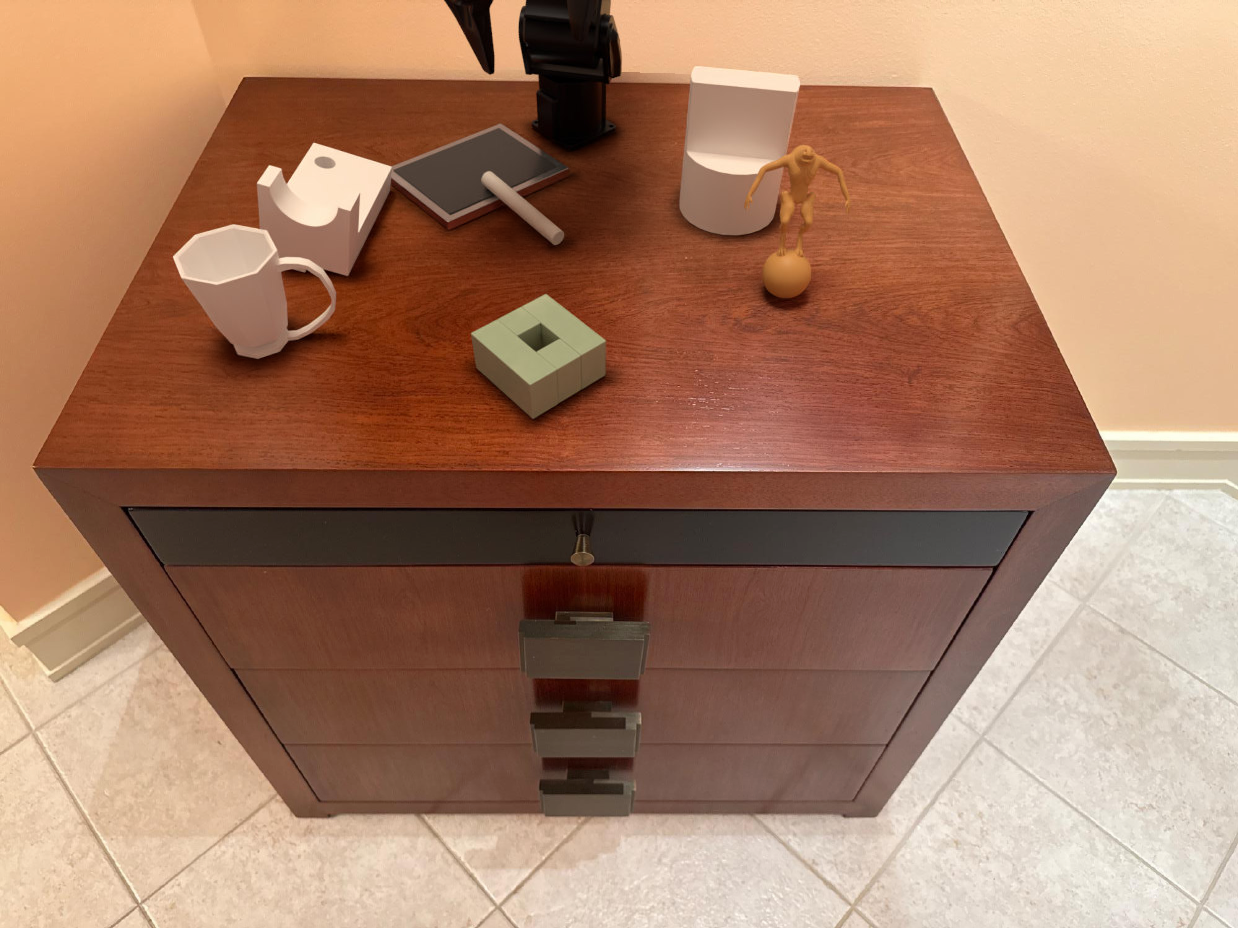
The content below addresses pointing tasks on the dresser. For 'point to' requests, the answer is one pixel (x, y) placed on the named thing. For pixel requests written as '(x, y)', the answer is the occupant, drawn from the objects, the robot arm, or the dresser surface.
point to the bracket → (323, 207)
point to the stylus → (522, 208)
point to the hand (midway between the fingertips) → (535, 56)
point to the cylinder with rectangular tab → (735, 147)
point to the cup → (245, 287)
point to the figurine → (790, 267)
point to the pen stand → (539, 355)
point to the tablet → (474, 174)
